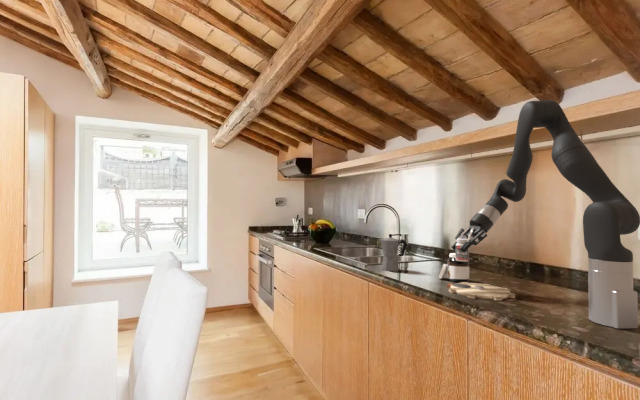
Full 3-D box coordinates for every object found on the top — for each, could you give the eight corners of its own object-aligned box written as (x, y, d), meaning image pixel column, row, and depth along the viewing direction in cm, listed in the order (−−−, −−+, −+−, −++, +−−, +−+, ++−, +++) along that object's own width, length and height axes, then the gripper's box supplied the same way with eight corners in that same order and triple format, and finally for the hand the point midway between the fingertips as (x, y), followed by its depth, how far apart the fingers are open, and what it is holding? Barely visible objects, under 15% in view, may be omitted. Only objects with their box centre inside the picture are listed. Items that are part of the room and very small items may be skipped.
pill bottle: (455, 261, 124) (455, 239, 125) (455, 259, 129) (455, 238, 129) (469, 261, 123) (469, 239, 123) (468, 260, 127) (468, 238, 127)
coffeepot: (374, 269, 165) (374, 233, 166) (382, 266, 173) (383, 232, 173) (402, 273, 156) (402, 235, 156) (410, 270, 163) (410, 234, 164)
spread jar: (472, 284, 135) (472, 255, 135) (444, 283, 135) (444, 255, 136) (460, 278, 147) (460, 252, 147) (435, 277, 147) (435, 251, 148)
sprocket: (530, 300, 111) (530, 294, 111) (466, 300, 109) (466, 294, 109) (489, 284, 134) (489, 280, 134) (436, 285, 132) (436, 280, 132)
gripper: (467, 212, 135) (440, 241, 132) (492, 212, 121) (462, 245, 118) (478, 224, 136) (452, 254, 133) (504, 226, 122) (475, 259, 119)
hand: (457, 249), depth 125 cm, fingers closed on pill bottle, 4 cm apart
